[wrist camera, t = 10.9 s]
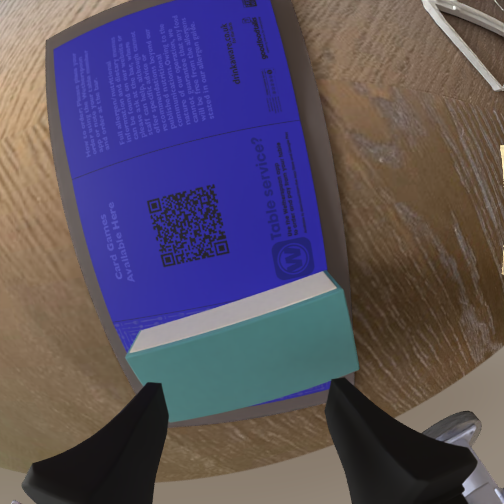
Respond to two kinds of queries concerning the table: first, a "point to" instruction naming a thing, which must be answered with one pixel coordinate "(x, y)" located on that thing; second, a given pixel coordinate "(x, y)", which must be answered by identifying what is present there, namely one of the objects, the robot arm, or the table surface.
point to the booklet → (193, 165)
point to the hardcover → (503, 155)
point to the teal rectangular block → (249, 349)
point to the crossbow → (448, 3)
